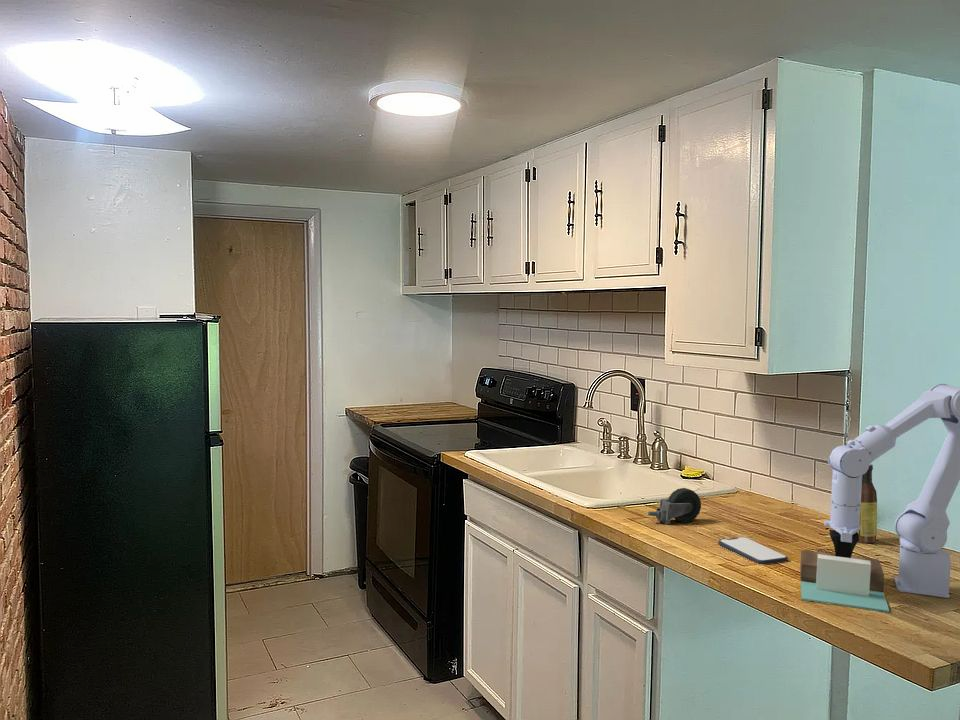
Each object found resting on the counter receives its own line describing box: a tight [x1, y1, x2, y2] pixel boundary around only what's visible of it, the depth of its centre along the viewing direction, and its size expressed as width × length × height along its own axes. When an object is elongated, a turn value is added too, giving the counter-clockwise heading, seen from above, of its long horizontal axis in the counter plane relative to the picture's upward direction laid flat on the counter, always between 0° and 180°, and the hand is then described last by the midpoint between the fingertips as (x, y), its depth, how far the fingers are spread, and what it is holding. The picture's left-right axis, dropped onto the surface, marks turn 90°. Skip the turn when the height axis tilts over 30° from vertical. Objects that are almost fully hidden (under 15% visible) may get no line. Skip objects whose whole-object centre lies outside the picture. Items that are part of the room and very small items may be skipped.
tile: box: [816, 554, 871, 596], centre depth 164 cm, size 10×7×2 cm
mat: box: [800, 580, 890, 613], centre depth 162 cm, size 16×10×1 cm, turn 68°
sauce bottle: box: [857, 463, 878, 544], centre depth 200 cm, size 7×6×20 cm
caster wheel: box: [647, 487, 702, 525], centre depth 215 cm, size 6×10×15 cm
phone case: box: [717, 536, 789, 565], centre depth 190 cm, size 9×2×16 cm
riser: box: [799, 549, 885, 592], centre depth 172 cm, size 16×10×4 cm, turn 69°
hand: (842, 565), depth 167 cm, fingers closed
